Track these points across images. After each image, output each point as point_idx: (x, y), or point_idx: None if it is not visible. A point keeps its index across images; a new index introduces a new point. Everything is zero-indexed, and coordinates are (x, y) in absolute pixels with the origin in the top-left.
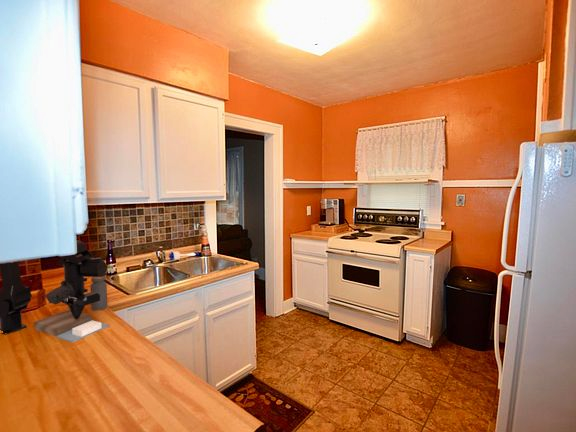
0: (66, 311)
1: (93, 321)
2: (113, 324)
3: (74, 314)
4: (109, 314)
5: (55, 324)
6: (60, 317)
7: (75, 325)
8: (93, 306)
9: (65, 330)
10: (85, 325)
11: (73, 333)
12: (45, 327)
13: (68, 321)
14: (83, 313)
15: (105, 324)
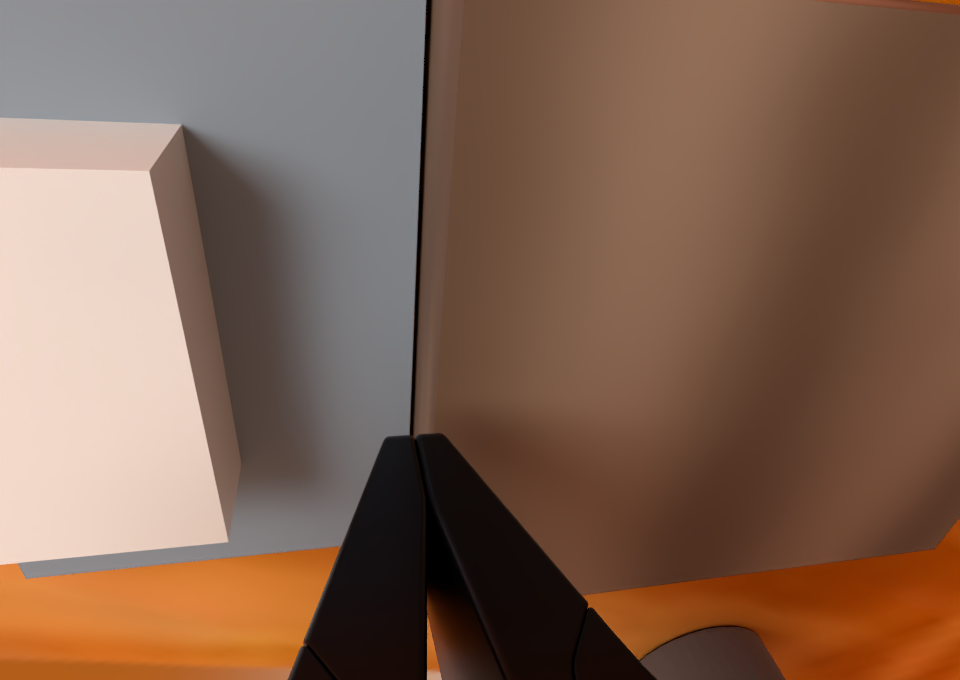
0: (936, 512)
1: (141, 536)
2: (51, 595)
3: (395, 530)
4: (436, 661)
5: (752, 136)
6: (890, 377)
7: (427, 342)
8: (727, 673)
9: (429, 141)
10: (53, 393)
11: (128, 127)
12: (932, 7)
13: (591, 344)
14: (619, 583)
15: (86, 557)
